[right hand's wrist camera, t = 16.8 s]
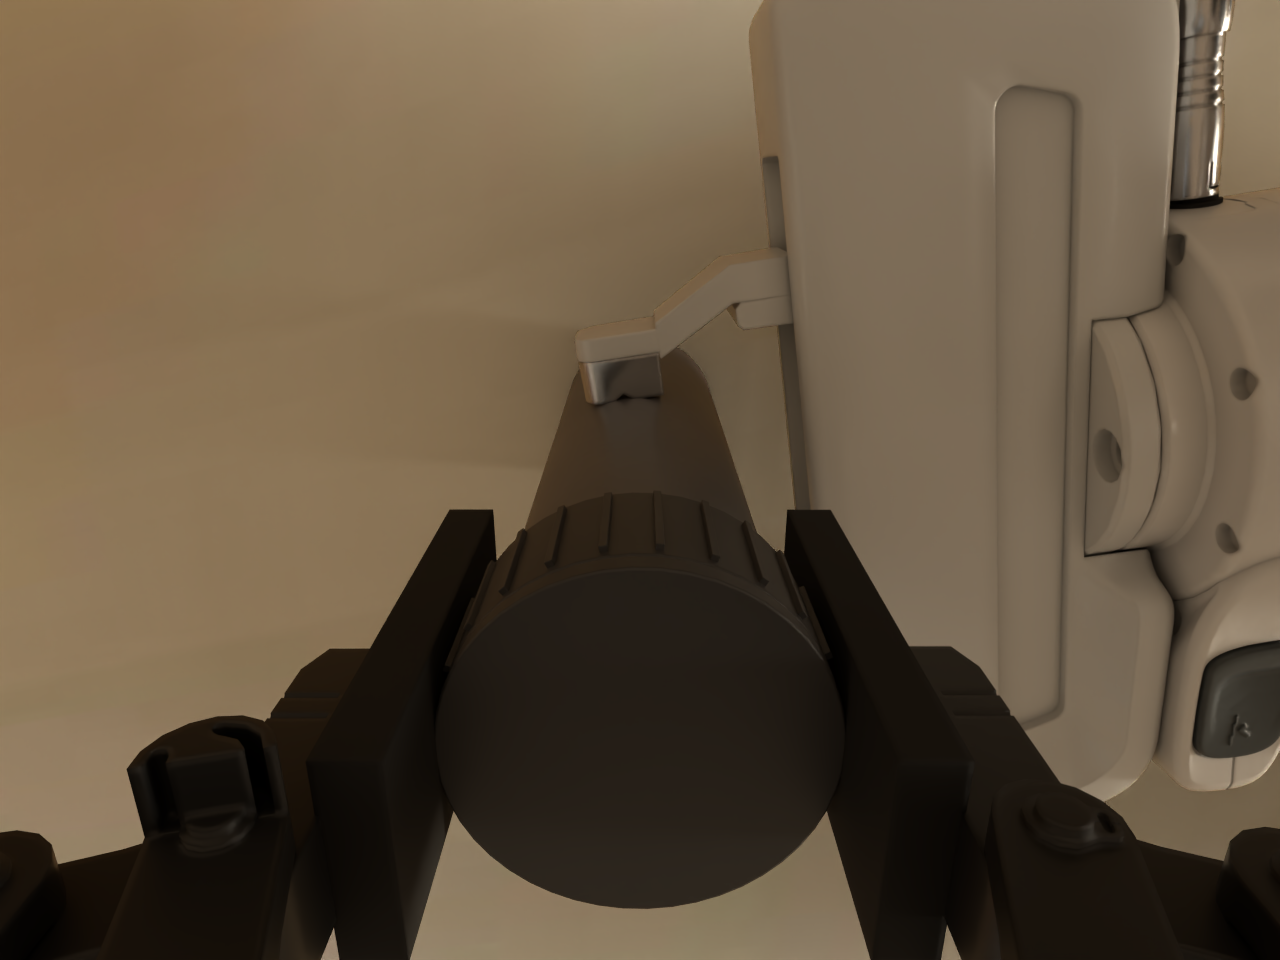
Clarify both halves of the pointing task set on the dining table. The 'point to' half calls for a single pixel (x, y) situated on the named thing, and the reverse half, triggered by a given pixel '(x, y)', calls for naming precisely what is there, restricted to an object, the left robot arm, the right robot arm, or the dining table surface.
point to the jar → (643, 447)
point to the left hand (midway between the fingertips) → (603, 487)
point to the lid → (639, 705)
